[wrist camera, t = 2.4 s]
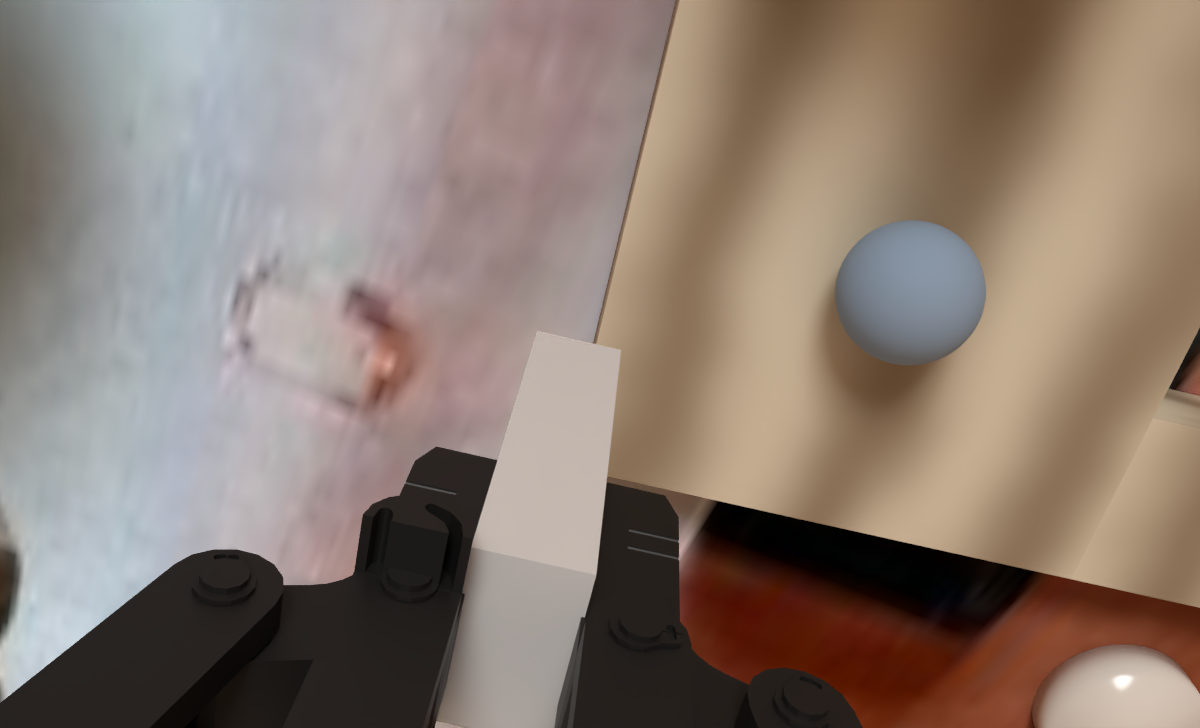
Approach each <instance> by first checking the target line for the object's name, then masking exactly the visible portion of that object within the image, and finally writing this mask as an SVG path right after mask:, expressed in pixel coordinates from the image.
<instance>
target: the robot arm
mask: <svg viewBox="0 0 1200 728" xmlns="http://www.w3.org/2000/svg"><path fill="white" fill-rule="evenodd" d="M620 355H621V350H619V349H615V348H611V347H606V346H602V345H597V344H593V343H589V342H584V341H580V340H576V339H571V338H567V337H563V336H558V335H554V334H550V333H545V332H541V331H537V333H536V336H535V339H534V342H533V346H532V349H531V352H530V356H529V359H528V362H527V365H526V369H525V372H524V375H523V378H522V382H521V385H520V388H519V392H518V395H517V398H516V401H515V405H514V408H513V411H512V415H511V418H510V421H509V424H508V428H507V431H506V434H505V437H504V441H503V444H502V447H501V451H500V454H499V457H498V460H493V459H489V458H485V457H480V456H476V455H471V454H467V453H462V452H458V451H454V450H449V449H445V448H440V447H435V448H434V449H432V450H431V451H429V452H428V453H426V454H425V455H423V456H422V457H420V458H419V459H417V460H416V461H415V462H414V465H413V467H412V469H411V471H410V473H409V476H408V478H407V480H406V484H405V485H404V487H403V489H402V491H401V493H400V496H395V497H388V498H386V499H383V500H381V501H379V502H376V503H374V504H372V505H371V506H370V508H369V509H368V510H367V511H366V512H365V513H364V514H363V518H362V524H361V531H360V538H359V544H358V551H357V558H356V565H355V571H354V573H353V575H352V576H350V577H348V578H345V579H343V580H340V581H336V582H332V583H328V584H318V585H283V576H282V575H281V574H280V572H279V571H278V569H277V568H276V567H275V565H274V564H272V563H271V562H269V561H267V560H266V559H264V558H262V557H261V556H259V555H256V554H252V553H248V552H244V551H240V550H210V551H206V552H201V553H197V554H193V555H191V556H189V557H187V558H185V559H183V560H181V561H180V562H178V563H176V564H174V565H173V566H172V567H170V568H169V569H168V570H167V571H165V572H164V573H163V574H162V575H160V576H159V577H158V578H157V579H155V580H154V581H153V582H152V583H150V584H149V585H148V586H147V587H145V588H144V589H143V590H142V591H140V592H139V593H138V594H137V595H135V596H134V597H133V598H131V599H130V600H129V601H128V602H126V603H125V604H124V605H123V606H121V607H120V608H119V609H118V610H116V611H115V612H114V613H113V614H111V615H110V616H109V617H108V618H106V619H105V620H104V621H103V622H101V623H100V624H99V625H98V626H96V627H95V628H94V629H93V630H91V631H90V632H89V633H88V634H86V635H85V636H84V637H82V638H81V639H80V640H79V641H77V642H76V643H75V644H74V645H72V646H71V647H70V648H69V649H67V650H66V651H65V652H64V653H62V654H61V655H60V656H59V657H57V658H56V659H55V660H54V661H52V662H51V663H50V664H49V665H47V666H46V667H45V668H44V669H42V670H41V671H40V672H39V673H37V674H36V675H35V676H34V677H32V678H31V679H30V680H28V681H27V682H26V683H25V684H23V685H22V686H21V687H20V688H18V689H17V690H16V691H15V692H13V693H12V694H11V695H10V696H8V697H7V698H6V699H5V700H3V701H2V702H1V703H0V728H435V723H436V721H439V722H444V723H449V724H453V725H458V726H463V727H467V728H862V726H861V724H860V722H859V720H858V718H857V716H856V714H855V712H854V710H853V709H852V707H851V706H850V705H849V703H848V702H847V701H846V699H845V698H844V697H843V695H842V694H841V693H839V692H838V691H837V690H836V689H834V688H833V687H832V686H830V685H829V684H828V683H827V682H825V681H824V680H821V679H819V678H817V677H815V676H813V675H811V674H808V673H806V672H804V671H799V670H793V669H788V668H776V669H767V670H765V671H763V672H761V673H760V674H758V675H756V676H754V677H753V679H752V681H751V683H750V685H748V684H746V683H744V682H742V681H739V680H737V679H735V678H733V677H731V676H729V675H727V674H725V673H723V672H721V671H719V670H717V669H716V668H714V667H712V666H710V665H709V664H708V663H706V662H705V661H704V660H703V659H701V658H700V657H699V656H698V655H697V654H696V653H695V652H694V651H693V650H692V649H691V642H690V639H689V635H688V632H687V630H686V628H685V627H684V626H683V625H682V624H681V622H680V604H679V560H678V558H679V543H678V540H679V517H678V516H677V514H676V513H675V511H674V509H673V508H672V506H671V505H670V503H669V501H668V500H667V498H666V497H665V496H664V495H660V494H655V493H651V492H646V491H642V490H638V489H633V488H629V487H624V486H620V485H615V484H611V483H606V482H607V473H608V464H609V455H610V446H611V437H612V428H613V419H614V409H615V400H616V391H617V382H618V373H619V364H620Z"/></svg>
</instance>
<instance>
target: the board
mask: <svg viewBox="0 0 1200 728" xmlns="http://www.w3.org/2000/svg"><path fill="white" fill-rule="evenodd" d="M907 220H919V221H926V222H931V223H934V224H937V225H940V226H942V227H945V228H947V229H949V230H951V231H952V232H954V233H955V234H957V235H958V236H959V237H960V238H961V239H963V240H964V241H965V242H966V243H967V244H968V245H969V246H970V248H971V249H972V250H973V252H974V253H975V255H976V257H977V258H978V260H979V262H980V264H981V267H982V269H983V273H984V277H985V283H986V300H985V305H984V310H983V313H982V316H981V319H980V321H979V323H978V325H977V327H976V329H975V330H974V332H973V333H972V334H971V336H970V337H969V338H968V339H967V340H966V342H964V343H963V344H962V345H961V346H960V347H959V348H958V349H956V350H955V351H954V352H952V353H951V354H949V355H947V356H945V357H943V358H941V359H939V360H937V361H933V362H930V363H926V364H920V365H897V364H892V363H888V362H885V361H882V360H880V359H877V358H875V357H873V356H871V355H870V354H868V353H866V352H865V351H864V350H862V349H861V348H860V347H859V346H858V345H856V344H855V343H854V341H853V340H852V339H851V338H850V337H849V335H848V334H847V332H846V331H845V329H844V328H843V326H842V324H841V321H840V319H839V316H838V313H837V309H836V302H835V287H836V279H837V276H838V272H839V269H840V267H841V264H842V262H843V261H844V259H845V257H846V255H847V254H848V253H849V251H850V250H851V249H852V247H853V246H854V245H855V244H856V243H857V242H858V241H859V240H860V239H862V238H863V237H864V236H865V235H867V234H868V233H870V232H871V231H873V230H875V229H877V228H879V227H881V226H884V225H887V224H890V223H894V222H898V221H907ZM1199 328H1200V0H676V2H675V6H674V10H673V14H672V18H671V22H670V27H669V31H668V35H667V39H666V43H665V47H664V52H663V56H662V60H661V64H660V68H659V72H658V76H657V81H656V85H655V89H654V93H653V97H652V101H651V106H650V110H649V114H648V118H647V122H646V126H645V130H644V135H643V139H642V143H641V147H640V151H639V155H638V160H637V164H636V168H635V172H634V176H633V180H632V184H631V189H630V193H629V197H628V201H627V205H626V209H625V213H624V218H623V222H622V226H621V230H620V234H619V238H618V243H617V247H616V251H615V255H614V259H613V263H612V267H611V272H610V276H609V280H608V284H607V288H606V292H605V297H604V301H603V305H602V309H601V313H600V317H599V321H598V326H597V330H596V334H595V338H594V342H593V344H597V345H602V346H606V347H611V348H615V349H619V350H621V355H620V364H619V373H618V382H617V391H616V400H615V409H614V419H613V428H612V437H611V446H610V455H609V464H608V473H607V476H608V477H612V478H617V479H621V480H626V481H630V482H635V483H639V484H644V485H648V486H653V487H657V488H662V489H666V490H671V491H675V492H680V493H684V494H689V495H693V496H698V497H703V498H707V499H712V500H716V501H721V502H725V503H730V504H734V505H739V506H743V507H748V508H752V509H757V510H761V511H766V512H770V513H775V514H779V515H784V516H788V517H793V518H797V519H802V520H806V521H811V522H815V523H820V524H824V525H829V526H833V527H838V528H842V529H847V530H851V531H856V532H860V533H865V534H869V535H874V536H878V537H883V538H887V539H892V540H896V541H901V542H905V543H910V544H915V545H919V546H924V547H928V548H933V549H937V550H942V551H946V552H951V553H955V554H960V555H964V556H969V557H973V558H978V559H982V560H987V561H991V562H996V563H1000V564H1005V565H1009V566H1014V567H1018V568H1023V569H1027V570H1032V571H1036V572H1041V573H1045V574H1050V575H1054V576H1059V577H1063V578H1068V579H1072V580H1077V581H1081V582H1086V583H1090V584H1095V585H1099V586H1104V587H1108V588H1113V589H1117V590H1122V591H1127V592H1131V593H1136V594H1140V595H1145V596H1149V597H1154V598H1158V599H1163V600H1167V601H1172V602H1176V603H1181V604H1185V605H1190V606H1194V607H1199V608H1200V396H1198V395H1193V394H1189V393H1185V392H1180V391H1176V390H1172V389H1168V388H1169V386H1170V385H1171V383H1172V381H1173V379H1174V377H1175V375H1176V373H1177V371H1178V369H1179V367H1180V365H1181V363H1182V361H1183V359H1184V357H1185V355H1186V353H1187V351H1188V349H1189V347H1190V345H1191V343H1192V341H1193V340H1194V338H1195V336H1196V334H1197V332H1198V330H1199Z"/></svg>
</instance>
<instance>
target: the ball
mask: <svg viewBox="0 0 1200 728" xmlns="http://www.w3.org/2000/svg"><path fill="white" fill-rule="evenodd" d="M985 300H986V283H985V277H984V273H983V269H982V267H981V264H980V262H979V260H978V258H977V257H976V255H975V253H974V252H973V250H972V249H971V248H970V246H969V245H968V244H967V243H966V242H965V241H964V240H963V239H961V238H960V237H959V236H958V235H957V234H955V233H954V232H952V231H951V230H949V229H947V228H945V227H942V226H940V225H937V224H934V223H931V222H926V221H919V220H907V221H898V222H894V223H890V224H887V225H884V226H881V227H879V228H877V229H875V230H873V231H871V232H870V233H868V234H867V235H865V236H864V237H863V238H862V239H860V240H859V241H858V242H857V243H856V244H855V245H854V246H853V247H852V249H851V250H850V251H849V253H848V254H847V255H846V257H845V259H844V261H843V262H842V264H841V267H840V269H839V272H838V276H837V279H836V287H835V302H836V309H837V313H838V316H839V319H840V321H841V324H842V326H843V328H844V329H845V331H846V332H847V334H848V335H849V337H850V338H851V339H852V340H853V341H854V343H855V344H856V345H858V346H859V347H860V348H861V349H862V350H864V351H865V352H866V353H868V354H870V355H871V356H873V357H875V358H877V359H880V360H882V361H885V362H888V363H892V364H897V365H920V364H926V363H930V362H933V361H937V360H939V359H941V358H943V357H945V356H947V355H949V354H951V353H952V352H954V351H955V350H956V349H958V348H959V347H960V346H961V345H962V344H963V343H964V342H966V340H967V339H968V338H969V337H970V336H971V334H972V333H973V332H974V330H975V329H976V327H977V325H978V323H979V321H980V319H981V316H982V313H983V310H984V305H985Z"/></svg>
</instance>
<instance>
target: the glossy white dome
mask: <svg viewBox="0 0 1200 728" xmlns="http://www.w3.org/2000/svg"><path fill="white" fill-rule="evenodd" d="M1032 720H1033V724H1034V727H1035V728H1200V694H1199V692H1198V691H1197V689H1196V688H1195V686H1194V685H1193V683H1192V682H1191V680H1190V679H1189V677H1188V676H1187V674H1186V673H1185V671H1184V670H1183V668H1182V667H1181V666H1180V665H1179V664H1178V663H1177V662H1176V661H1175V660H1173V659H1172V658H1171V657H1169V656H1167V655H1166V654H1164V653H1162V652H1160V651H1157V650H1155V649H1151V648H1148V647H1144V646H1138V645H1125V644H1121V645H1109V646H1102V647H1098V648H1094V649H1090V650H1088V651H1085V652H1082V653H1080V654H1078V655H1075V656H1073V657H1071V658H1070V659H1068V660H1066V661H1065V662H1063V663H1062V664H1060V665H1059V666H1058V667H1056V668H1055V669H1054V670H1053V671H1052V672H1051V673H1050V674H1049V675H1048V676H1047V677H1046V678H1045V679H1044V681H1043V682H1042V683H1041V685H1040V687H1039V688H1038V690H1037V692H1036V695H1035V697H1034V700H1033V705H1032Z"/></svg>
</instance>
